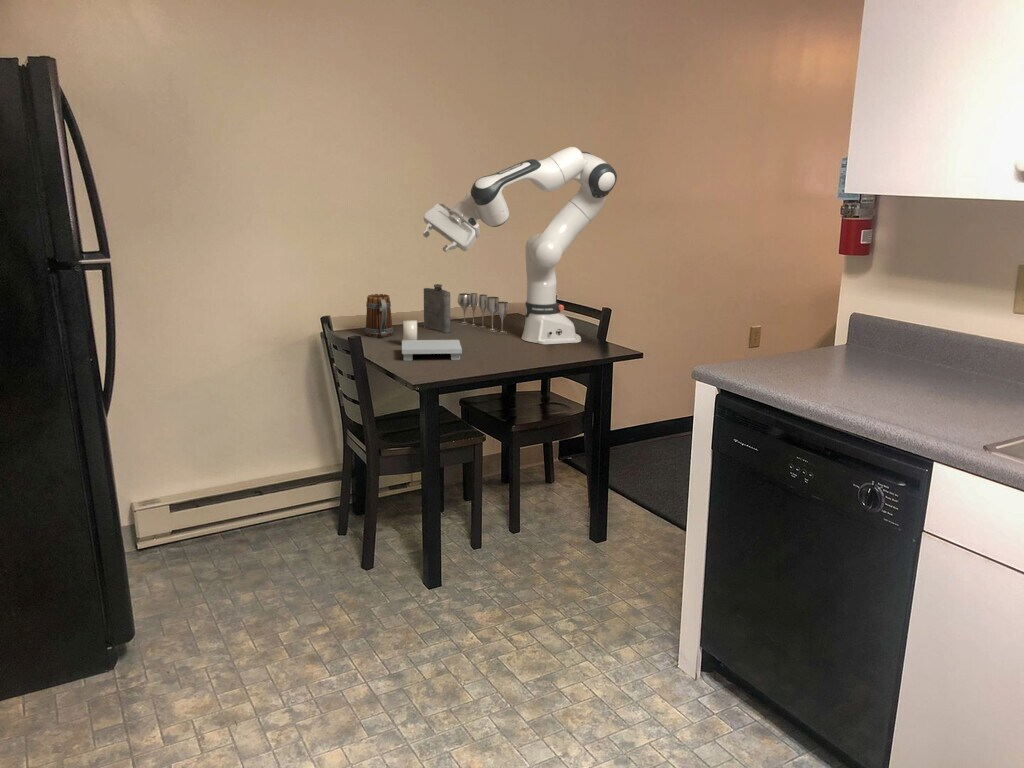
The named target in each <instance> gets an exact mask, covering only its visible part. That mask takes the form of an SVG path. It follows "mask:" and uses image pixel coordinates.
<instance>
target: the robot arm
mask: <svg viewBox="0 0 1024 768" xmlns="http://www.w3.org/2000/svg"><path fill="white" fill-rule="evenodd" d="M617 178H618V175H617V172H616V170H615V169H614V167H613V166H612V165H611V164H609V163H608V162H606V161H605V160H604V159H602V158H600V157H599V156H598V157H597V156H595V155H593V154H591V153H590V152H587V151H581V150H580V148H577V147H575V146H569V147H566V148H563V149H560V150H559V151H557V152H554V153H553V154H551V155H550V156H548V157H546V158H544V159H541V160H537V159H534V158H531V159H530V158H529V159H526V160H523V161H521V162H519V163H516V164H514V165H512V166H511V165H510V166H508V167H507V168H504V169H502V170H499V171H498V172H496V173H492V174H489V175H485V176H482V177H479V178H477V179H476V180H475V181H474V183H473V184H472V186H471V187H470V191H469V192H467V194H466V195H465V196H464V198H463V199H461V200H459V201H458V202H457V203H456V204H455V205H454V206H453V207H451V208H449V207H447V206H446V205H445V204H443V203H442V204H441V203H436V204H435V205H434V206H433V207H431V208H430V209H429V210H428V211H426V212H425V213H424V214H423V221H424V224H426V228H425V230H424V231H423V232H422V236H423V237H424V238H426V239H427V238H428V237H429V236H430V235H431V234H430V231H432V230H434V231H435V232H437V233H438V234H439V235H441V236H442V237H444V238H445V239H446V240H448V241H449V242H450V243H452V244H449V245H447V244H446V245H444V246H443V247H442V251H443V252H445V253H448V252H449V251H451V250H455V249H457V248H459V250H461V251H463V252H467V251H469V250H470V249H471V248H472V247H473V245H474V244H475V243H476V241H477V238H479V237H480V236H481V229H480V225H479V223H478V220H481V222H482V223H484V224H485V225H487V226H489V227H493V228H498V227H500V226H503V225H504V224H505V223H506V222H507V221H508V219H509V218H510V209H509V208H508V207H509V206H508V204H507V201H506V200H505V197H504V194H503V191H504V188H506V187H509V186H511V185H512V184H515V183H518V182H519V181H523V180H528V181H530V182H531V183H532V184H533V185H534V187H536V188H537V189H539V190H540V191H542V192H543V191H544V192H547V193H551V192H555V191H557V190H558V189H561V188H562V187H563V186H565V185H566V184H568V183H570V182H571V181H572V180H575V181H576V182H577V183H578V184H580V186H579V189H578V191H577V193H576V194H574V195H573V196H572V197H571V198H570V199H569V200H568V201H567V202H566V203H565V204H564V206H563V207H562V208H561V209H560V210H559V211H558V212H557V213H556V214H555V215H554V216H553V218H552V220H551V221H550V223H549V224H548V226H547V227H546V228H545V230H544V231H543V232H542V233H536V234H535V233H534V234H533V235H532V236H530V237H529V238H528V239H527V241H526V242H525V245H524V246H525V248H524V250H525V252H524V253H525V271H526V282H527V283H526V301H525V304H524V316H525V321H524V326H523V332H522V335H521V340H523V341H525V342H530V343H536V344H540V345H557V344H558V345H561V344H577V343H580V342H581V341H582V337H581V336H580V334H577V333H576V327H575V325H574V323H573V321H572V320H571V319H569V318H568V317H567V316H566V315H564V313H562V311H564V309H565V307H564V304H563V305H562V304H560V303H558V302H557V283H558V281H557V274H556V265H557V264H558V263H560V261H561V258H562V257H563V256H564V255H565V253H566V252H567V250H568V249H569V248H570V246H571V245H572V244H573V242H574V241H575V239H576V238H577V237H578V236H579V235H580V234H581V233H582V232H583V231H584V230H585V229H586V227H587V226H588V225H590V223H592V221H593V220H594V219H595V218H596V216H597V215H598V214H599V213H600V211H601V210H602V208H603V207H604V205H605V204H606V200H607V197H606V196H608V195H609V194H610V192H611V191H612V190H613V189H614V188H615V185H616V183H617V180H618V179H617Z"/></svg>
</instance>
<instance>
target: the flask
mask: <svg viewBox="0 0 1024 768" xmlns="http://www.w3.org/2000/svg"><path fill="white" fill-rule="evenodd" d="M442 287H443V284H438V283H437V284H433V288H431V287H425V288H423V328H424V327H425V328H424V329H426V328H429V329H428V330H432V329H434V330H433V331H436V330H437V331H436V332H440V331H441V332H440V333H442V334H450V333H451V292H450V291H447V290H445V289H443V288H442Z"/></svg>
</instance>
